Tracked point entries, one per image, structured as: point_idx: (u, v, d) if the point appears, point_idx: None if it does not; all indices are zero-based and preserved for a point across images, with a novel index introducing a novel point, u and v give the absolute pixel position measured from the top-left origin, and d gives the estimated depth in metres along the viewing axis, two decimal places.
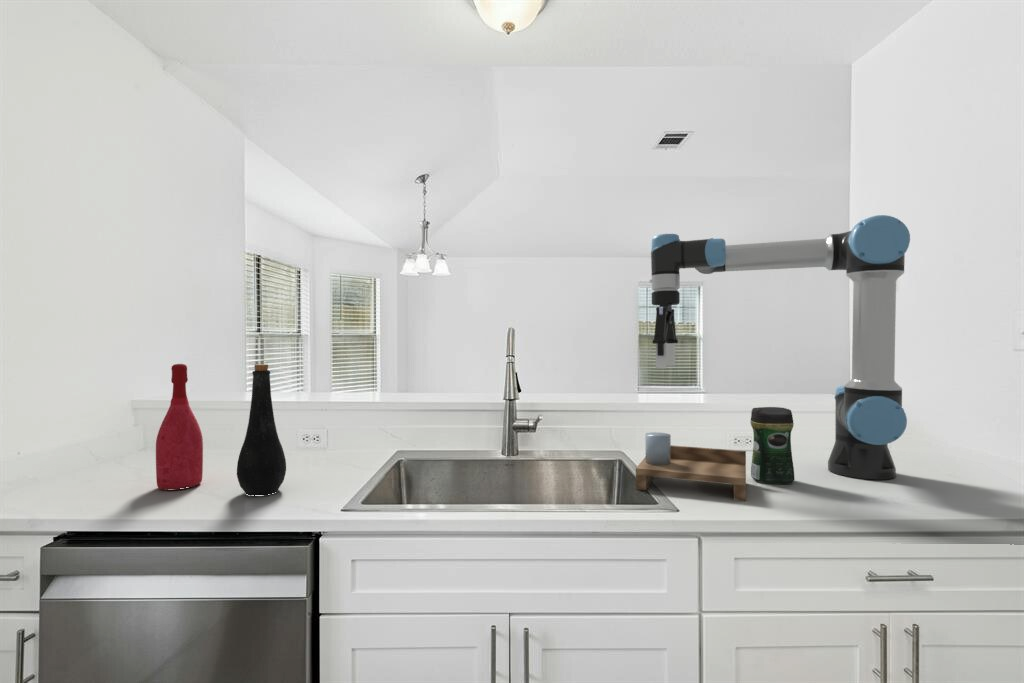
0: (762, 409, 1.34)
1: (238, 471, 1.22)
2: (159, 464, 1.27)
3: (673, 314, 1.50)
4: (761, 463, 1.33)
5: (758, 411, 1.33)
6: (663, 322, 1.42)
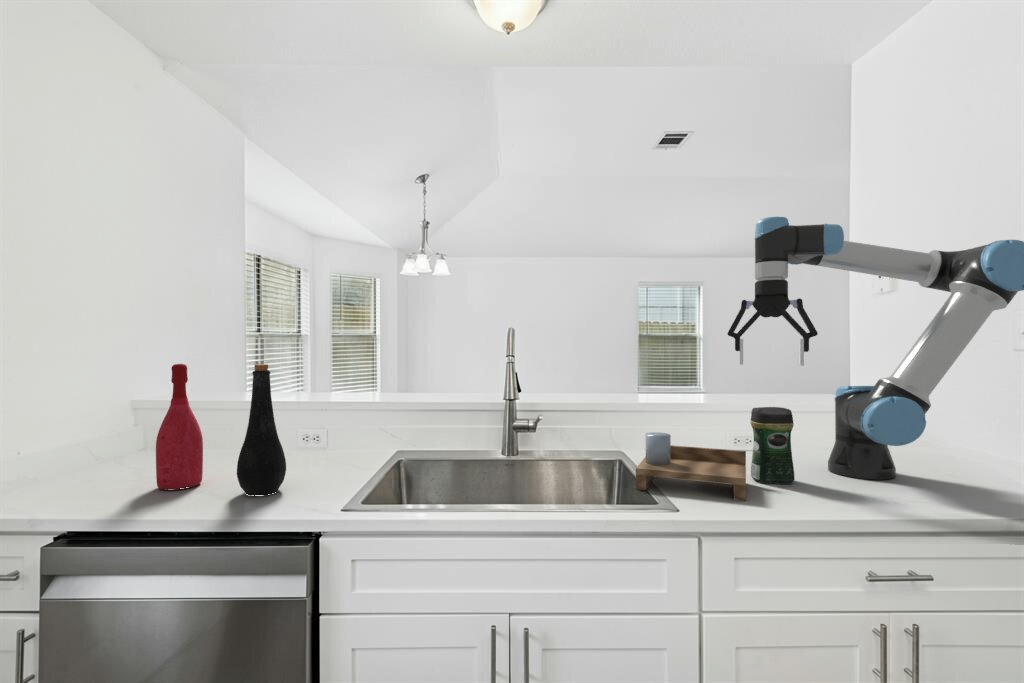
0: (762, 409, 1.34)
1: (238, 471, 1.22)
2: (159, 464, 1.27)
3: (776, 306, 1.33)
4: (761, 463, 1.33)
5: (758, 411, 1.33)
6: (736, 316, 1.37)
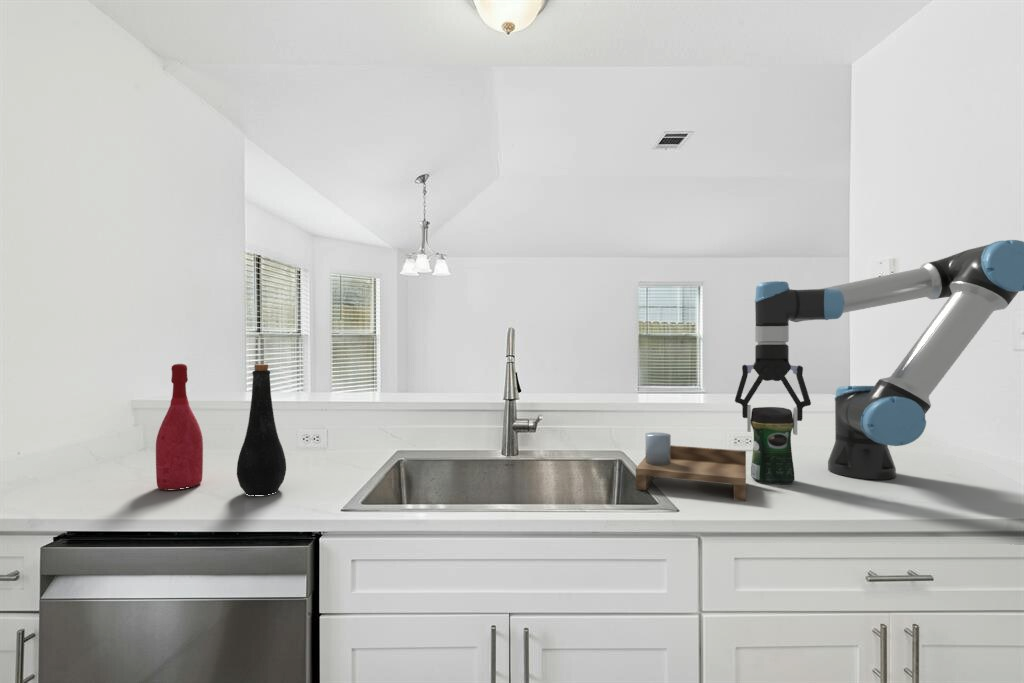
0: (762, 409, 1.34)
1: (238, 471, 1.22)
2: (159, 464, 1.27)
3: (776, 370, 1.33)
4: (761, 463, 1.33)
5: (758, 411, 1.33)
6: (740, 382, 1.37)
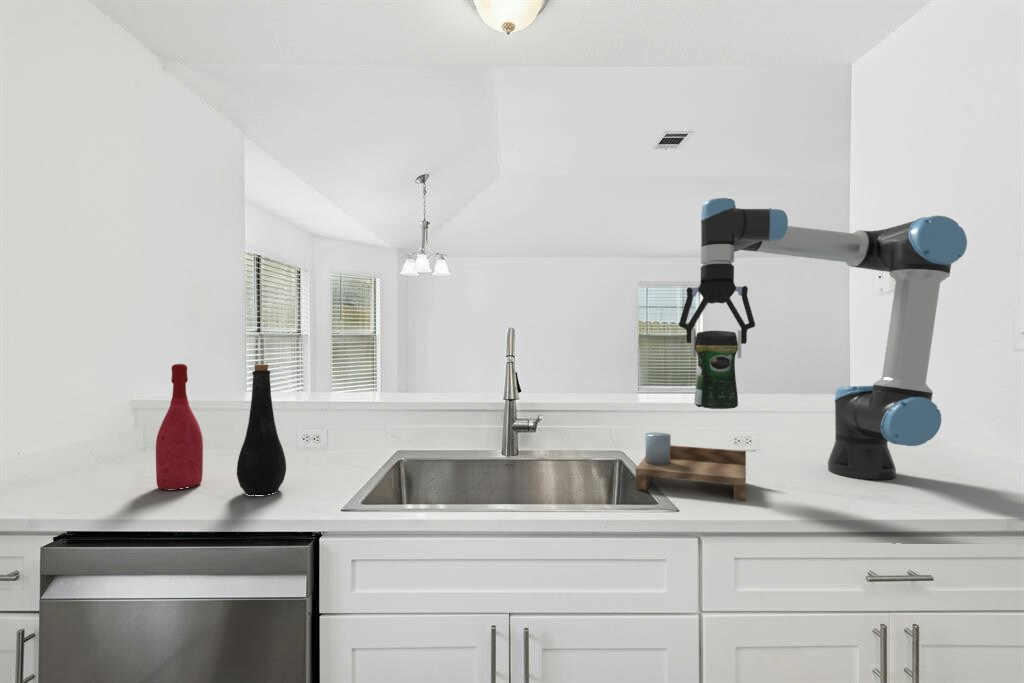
0: (706, 332, 1.28)
1: (238, 471, 1.22)
2: (159, 464, 1.27)
3: (721, 291, 1.27)
4: (703, 387, 1.27)
5: (701, 333, 1.28)
6: (684, 306, 1.32)
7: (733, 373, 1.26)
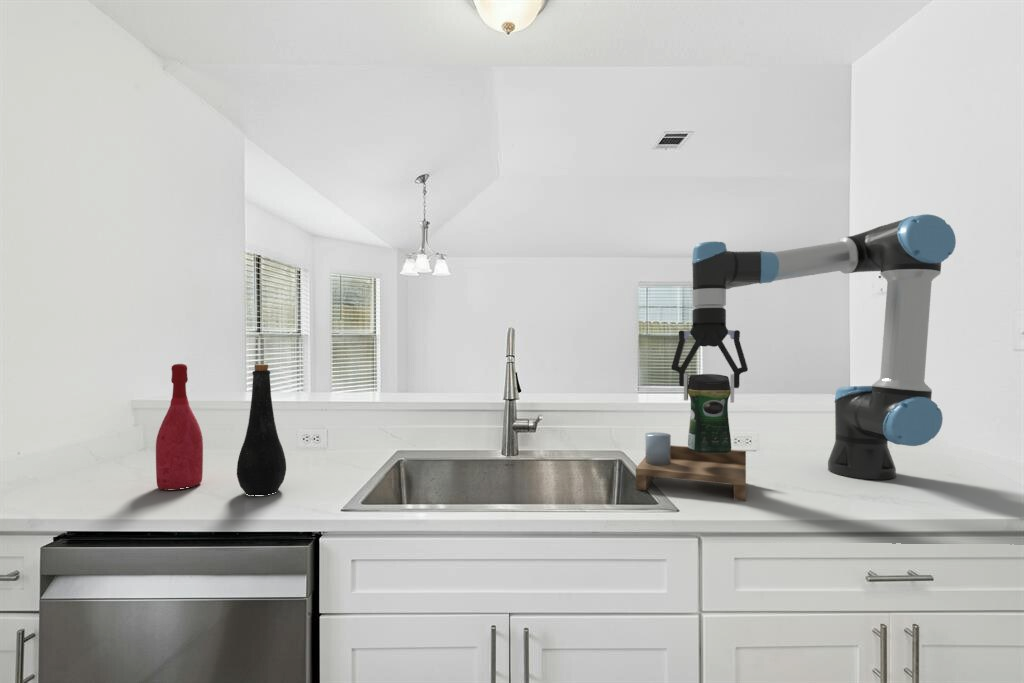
0: (698, 376, 1.28)
1: (238, 471, 1.22)
2: (159, 464, 1.27)
3: (713, 335, 1.27)
4: (696, 432, 1.26)
5: (694, 378, 1.27)
6: None
7: (726, 418, 1.26)
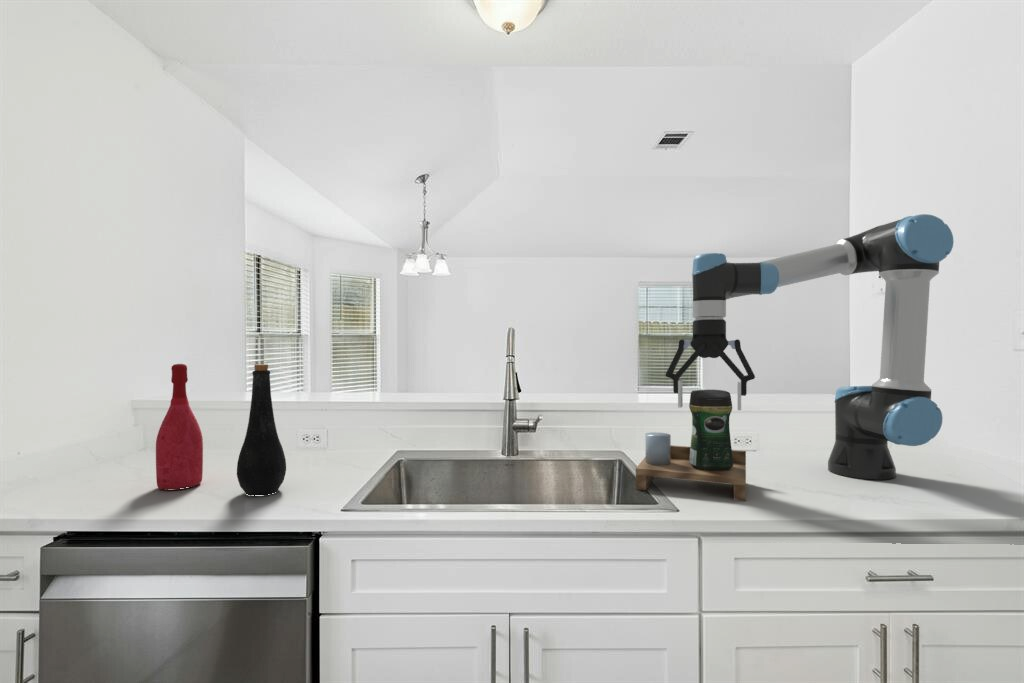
0: (700, 391, 1.27)
1: (238, 471, 1.22)
2: (159, 464, 1.27)
3: (713, 346, 1.27)
4: (697, 448, 1.26)
5: (695, 393, 1.27)
6: (674, 357, 1.31)
7: (728, 434, 1.25)
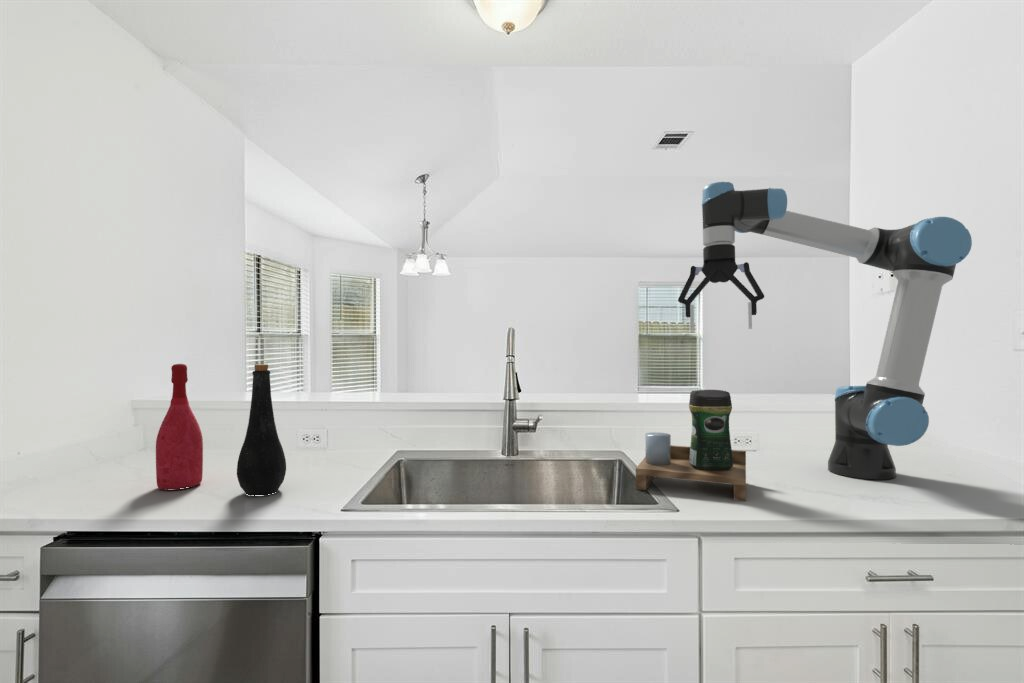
0: (699, 392, 1.28)
1: (238, 471, 1.22)
2: (159, 464, 1.27)
3: (724, 270, 1.34)
4: (697, 448, 1.26)
5: (695, 394, 1.27)
6: (686, 283, 1.38)
7: (727, 434, 1.25)
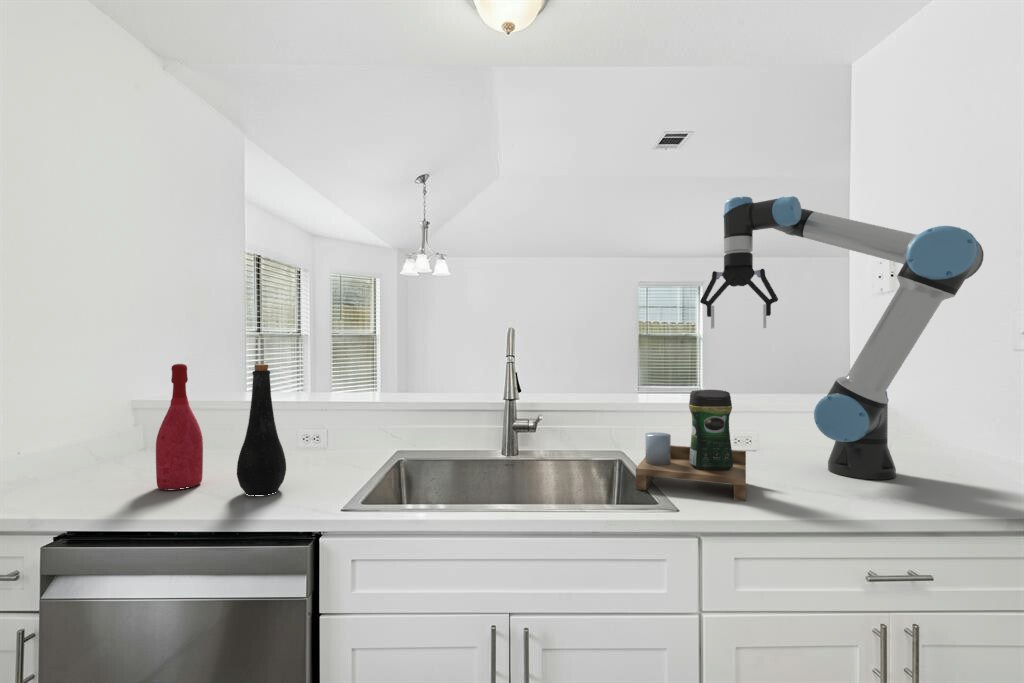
0: (699, 392, 1.28)
1: (238, 471, 1.22)
2: (159, 464, 1.27)
3: (742, 275, 1.51)
4: (697, 448, 1.26)
5: (695, 394, 1.27)
6: None
7: (727, 434, 1.25)
